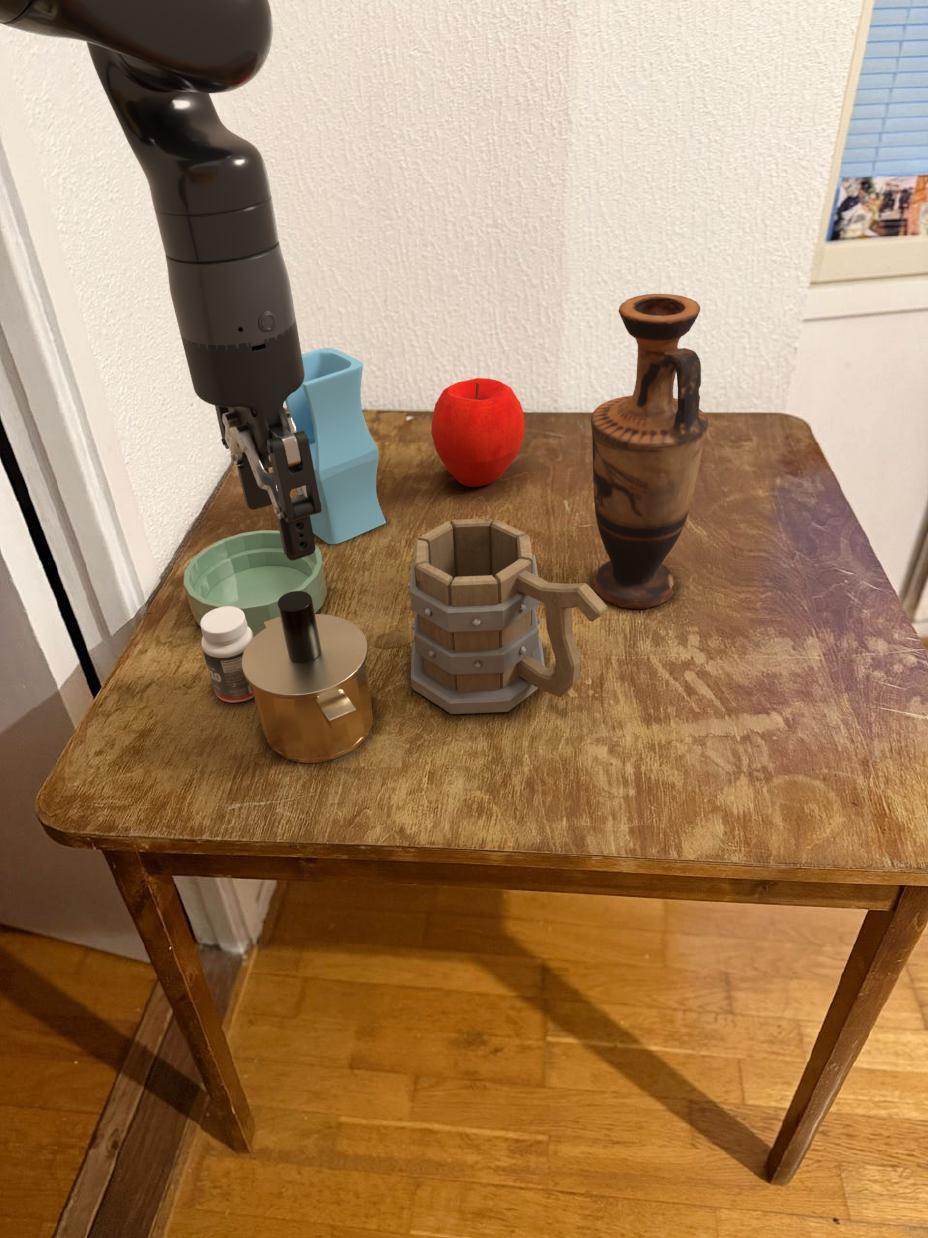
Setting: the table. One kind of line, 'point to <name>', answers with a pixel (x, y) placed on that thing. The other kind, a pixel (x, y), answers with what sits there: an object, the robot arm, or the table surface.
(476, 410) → the apple
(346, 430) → the vase
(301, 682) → the pot lid
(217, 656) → the pill bottle
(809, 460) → the table surface
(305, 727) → the pot
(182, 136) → the robot arm
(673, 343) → the vase
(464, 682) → the tankard
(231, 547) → the bowl
